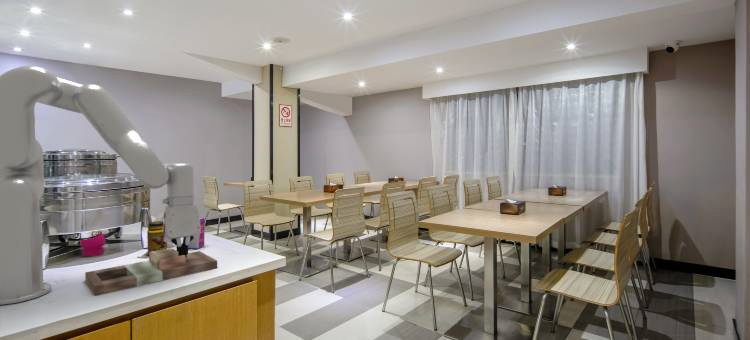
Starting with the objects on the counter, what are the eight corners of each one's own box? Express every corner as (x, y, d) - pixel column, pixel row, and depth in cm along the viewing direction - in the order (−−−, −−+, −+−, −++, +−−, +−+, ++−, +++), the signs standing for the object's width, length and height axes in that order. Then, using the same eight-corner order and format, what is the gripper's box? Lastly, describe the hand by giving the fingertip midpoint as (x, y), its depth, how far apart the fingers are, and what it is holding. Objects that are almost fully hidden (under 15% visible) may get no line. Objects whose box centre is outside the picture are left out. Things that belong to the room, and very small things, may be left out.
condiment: (163, 257, 129) (162, 224, 129) (137, 258, 128) (136, 224, 127) (171, 251, 137) (171, 220, 136) (147, 252, 135) (146, 220, 135)
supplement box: (198, 249, 139) (197, 220, 139) (182, 249, 139) (182, 220, 139) (205, 245, 145) (204, 217, 144) (190, 245, 145) (190, 217, 145)
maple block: (157, 268, 110) (156, 255, 110) (151, 264, 114) (150, 251, 114) (178, 264, 114) (178, 251, 114) (172, 260, 118) (171, 248, 118)
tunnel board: (199, 257, 129) (199, 242, 129) (217, 267, 119) (217, 251, 118) (85, 280, 106) (84, 262, 106) (94, 295, 96) (94, 275, 95)
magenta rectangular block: (85, 258, 127) (83, 201, 126) (77, 254, 131) (75, 199, 130) (109, 253, 133) (107, 199, 132) (100, 250, 137) (98, 197, 136)
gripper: (158, 205, 109) (160, 265, 110) (209, 200, 119) (210, 255, 121) (151, 202, 114) (153, 259, 115) (200, 197, 125) (201, 250, 126)
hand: (182, 257), depth 118 cm, fingers closed
